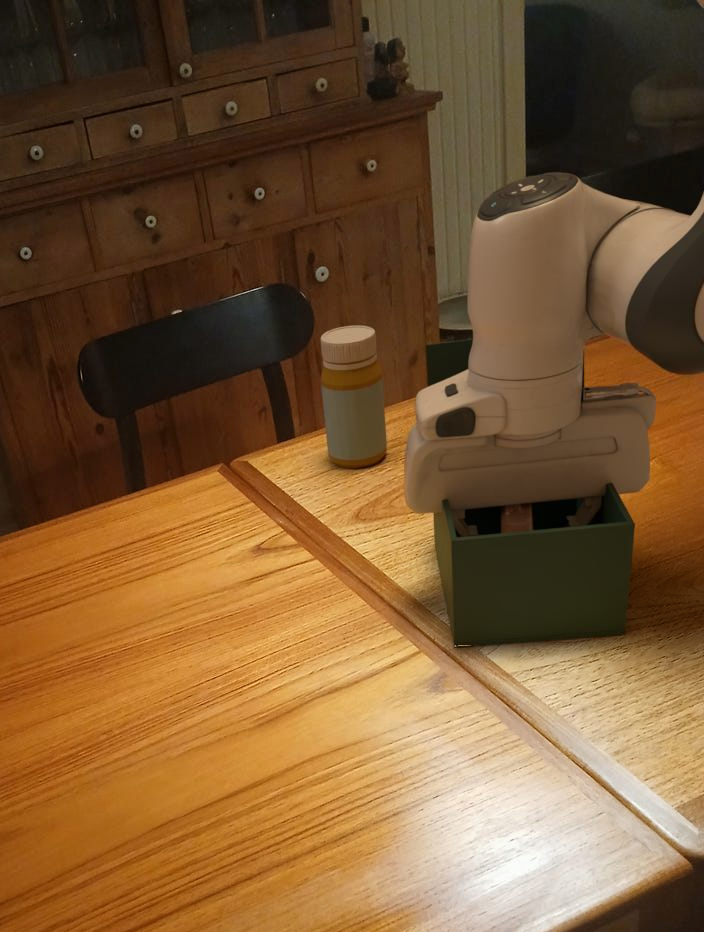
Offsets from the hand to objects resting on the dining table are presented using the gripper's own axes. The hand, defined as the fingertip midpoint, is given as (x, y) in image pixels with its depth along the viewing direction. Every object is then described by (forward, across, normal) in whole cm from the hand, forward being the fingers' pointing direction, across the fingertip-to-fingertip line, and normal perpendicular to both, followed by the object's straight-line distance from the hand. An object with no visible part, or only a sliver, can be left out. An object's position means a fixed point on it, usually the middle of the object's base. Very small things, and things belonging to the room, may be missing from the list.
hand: (521, 542), depth 88 cm
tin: (+4, 0, 0) cm, 4 cm away
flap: (-11, 0, -10) cm, 15 cm away
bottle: (+5, +14, -32) cm, 35 cm away
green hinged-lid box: (+4, 0, 0) cm, 5 cm away
